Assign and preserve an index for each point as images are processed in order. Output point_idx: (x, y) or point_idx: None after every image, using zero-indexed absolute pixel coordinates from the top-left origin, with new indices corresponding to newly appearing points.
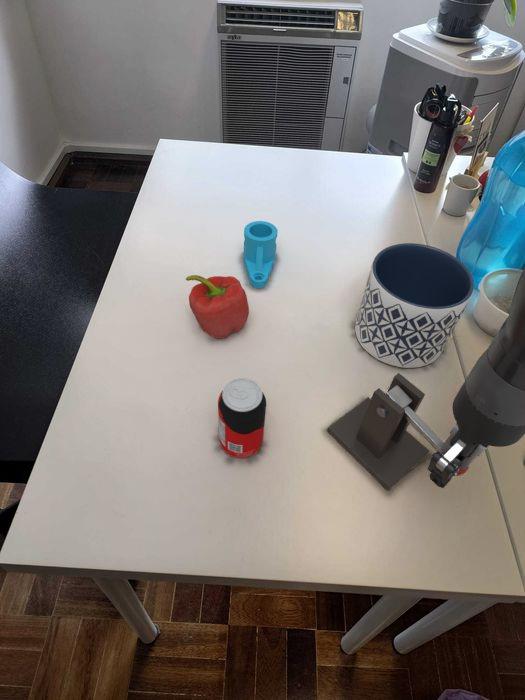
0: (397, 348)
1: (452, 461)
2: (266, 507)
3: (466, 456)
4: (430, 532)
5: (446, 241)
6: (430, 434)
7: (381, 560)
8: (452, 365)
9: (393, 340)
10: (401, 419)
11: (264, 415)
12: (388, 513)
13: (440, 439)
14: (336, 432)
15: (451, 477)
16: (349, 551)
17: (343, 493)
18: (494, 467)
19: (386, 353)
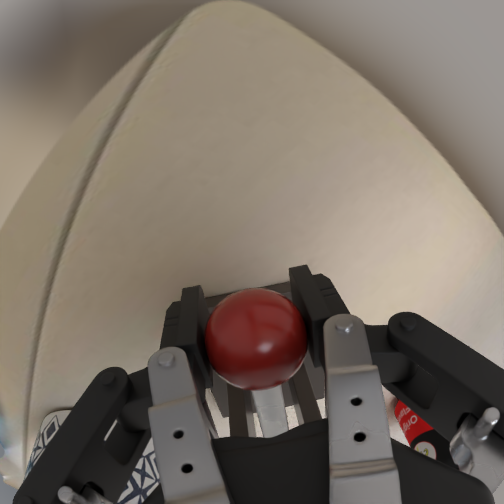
0: (141, 468)
1: (482, 438)
2: (460, 319)
3: (391, 442)
4: (303, 167)
5: (4, 463)
6: (278, 426)
7: (416, 179)
8: (43, 390)
9: (148, 484)
10: (248, 418)
11: (442, 448)
12: (347, 240)
13: (257, 409)
14: (320, 389)
15: (361, 320)
16: (440, 219)
17: (380, 301)
18: (62, 218)
19: (153, 456)
